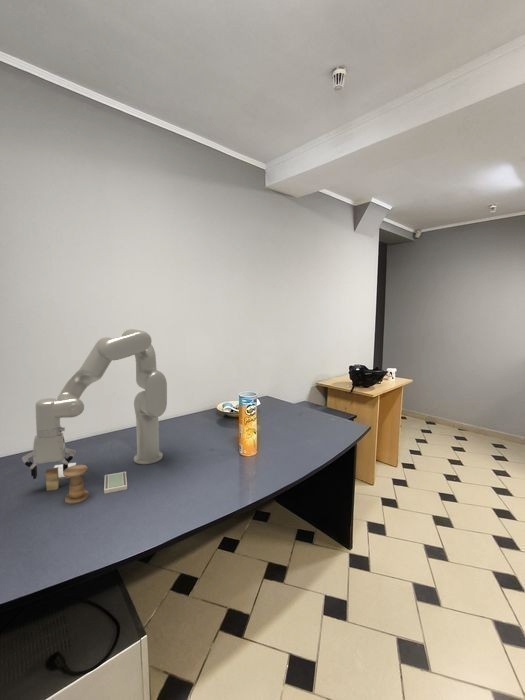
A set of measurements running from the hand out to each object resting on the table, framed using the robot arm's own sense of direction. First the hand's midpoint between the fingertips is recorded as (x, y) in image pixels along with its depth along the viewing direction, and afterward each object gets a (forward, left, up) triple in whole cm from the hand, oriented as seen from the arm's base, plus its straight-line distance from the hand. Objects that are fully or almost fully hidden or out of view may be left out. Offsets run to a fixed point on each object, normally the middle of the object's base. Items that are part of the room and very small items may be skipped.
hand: (50, 475), depth 127 cm
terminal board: (+6, +23, -5) cm, 24 cm away
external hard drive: (-12, +3, -6) cm, 14 cm away
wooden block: (0, +1, -5) cm, 5 cm away
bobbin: (+11, +10, -5) cm, 15 cm away
